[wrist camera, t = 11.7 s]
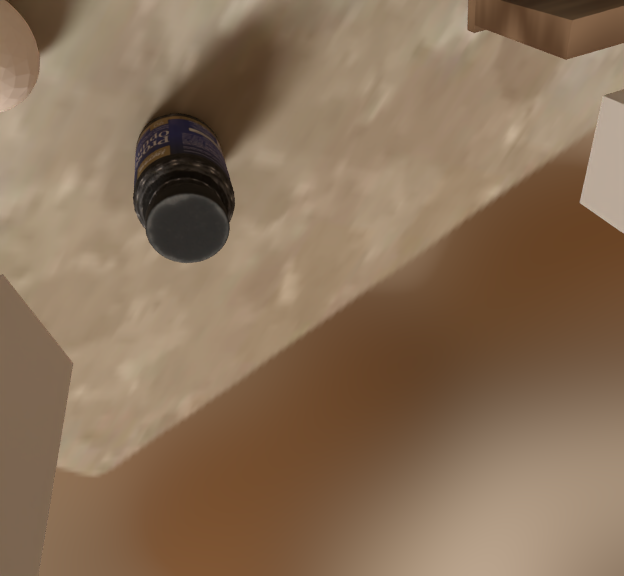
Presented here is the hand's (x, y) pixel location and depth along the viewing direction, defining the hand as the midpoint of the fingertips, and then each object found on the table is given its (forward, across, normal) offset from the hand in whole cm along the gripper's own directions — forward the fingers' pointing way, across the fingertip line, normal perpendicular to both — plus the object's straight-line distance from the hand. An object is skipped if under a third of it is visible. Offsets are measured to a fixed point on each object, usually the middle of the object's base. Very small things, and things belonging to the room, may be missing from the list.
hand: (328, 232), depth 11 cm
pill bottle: (+27, -5, -8) cm, 29 cm away
